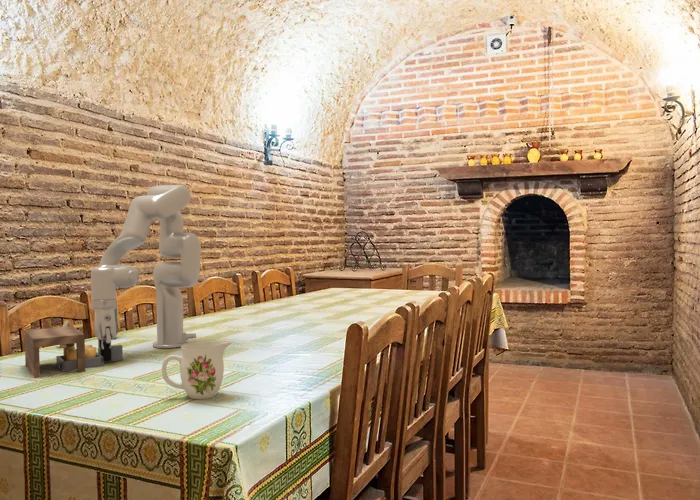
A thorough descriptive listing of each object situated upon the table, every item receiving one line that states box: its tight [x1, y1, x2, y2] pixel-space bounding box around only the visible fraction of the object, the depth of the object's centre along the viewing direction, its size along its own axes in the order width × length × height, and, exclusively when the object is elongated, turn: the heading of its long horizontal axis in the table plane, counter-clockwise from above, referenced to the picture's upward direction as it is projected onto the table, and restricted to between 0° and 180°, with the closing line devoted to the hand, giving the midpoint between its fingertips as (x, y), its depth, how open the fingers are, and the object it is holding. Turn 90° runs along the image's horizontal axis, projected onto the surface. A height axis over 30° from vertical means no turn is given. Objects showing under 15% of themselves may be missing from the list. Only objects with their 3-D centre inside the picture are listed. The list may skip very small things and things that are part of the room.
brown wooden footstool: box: [24, 325, 86, 379], centre depth 189 cm, size 14×20×11 cm
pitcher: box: [161, 340, 234, 400], centre depth 155 cm, size 11×18×14 cm, turn 105°
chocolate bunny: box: [58, 320, 76, 349], centre depth 226 cm, size 6×8×10 cm
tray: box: [55, 344, 124, 372], centre depth 195 cm, size 19×11×6 cm, turn 125°
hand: (104, 359), depth 197 cm, fingers open, 2 cm apart
